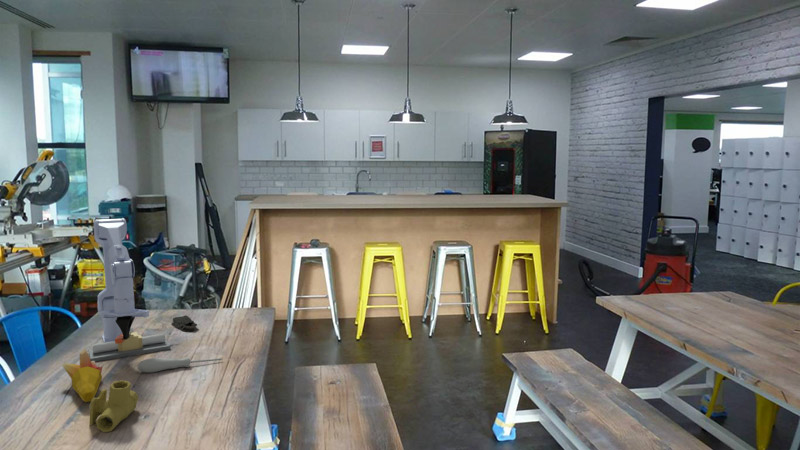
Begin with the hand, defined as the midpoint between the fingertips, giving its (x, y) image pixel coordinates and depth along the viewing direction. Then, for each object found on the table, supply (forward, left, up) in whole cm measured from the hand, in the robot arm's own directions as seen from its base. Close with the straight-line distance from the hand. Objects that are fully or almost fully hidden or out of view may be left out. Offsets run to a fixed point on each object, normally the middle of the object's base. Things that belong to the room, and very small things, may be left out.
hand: (126, 338), depth 178 cm
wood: (-29, +23, -8) cm, 38 cm away
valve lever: (-4, 0, -1) cm, 4 cm away
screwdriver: (+16, +14, -7) cm, 22 cm away
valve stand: (-8, +2, -7) cm, 11 cm away
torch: (+21, -13, -7) cm, 26 cm away
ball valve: (+44, -8, -7) cm, 45 cm away
